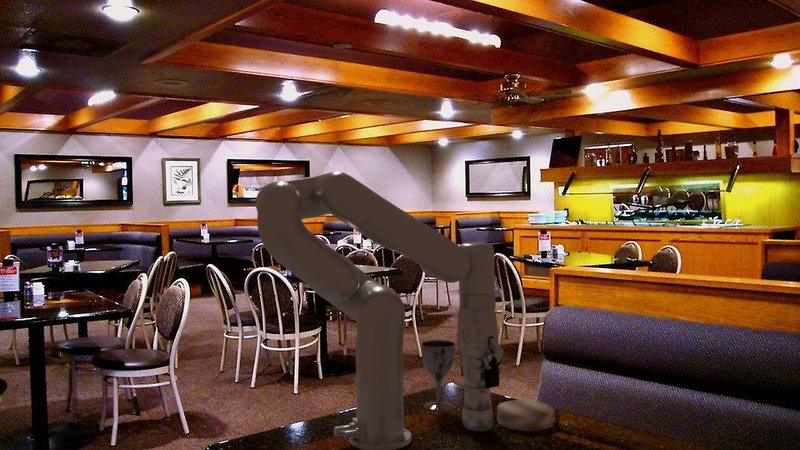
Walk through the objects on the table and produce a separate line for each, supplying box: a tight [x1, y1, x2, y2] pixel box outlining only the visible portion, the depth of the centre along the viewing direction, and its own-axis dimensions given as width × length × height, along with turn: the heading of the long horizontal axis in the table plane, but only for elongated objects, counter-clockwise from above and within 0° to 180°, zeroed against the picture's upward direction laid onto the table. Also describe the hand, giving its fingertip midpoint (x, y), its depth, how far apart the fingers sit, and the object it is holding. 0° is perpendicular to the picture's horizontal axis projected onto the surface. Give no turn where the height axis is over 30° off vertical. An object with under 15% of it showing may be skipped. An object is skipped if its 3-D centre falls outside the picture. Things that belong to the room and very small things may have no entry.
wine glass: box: [421, 339, 456, 412], centre depth 158 cm, size 8×8×15 cm
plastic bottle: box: [460, 353, 494, 433], centre depth 141 cm, size 6×7×20 cm
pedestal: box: [496, 399, 554, 432], centre depth 146 cm, size 12×12×3 cm
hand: (479, 381), depth 141 cm, fingers open, 9 cm apart
